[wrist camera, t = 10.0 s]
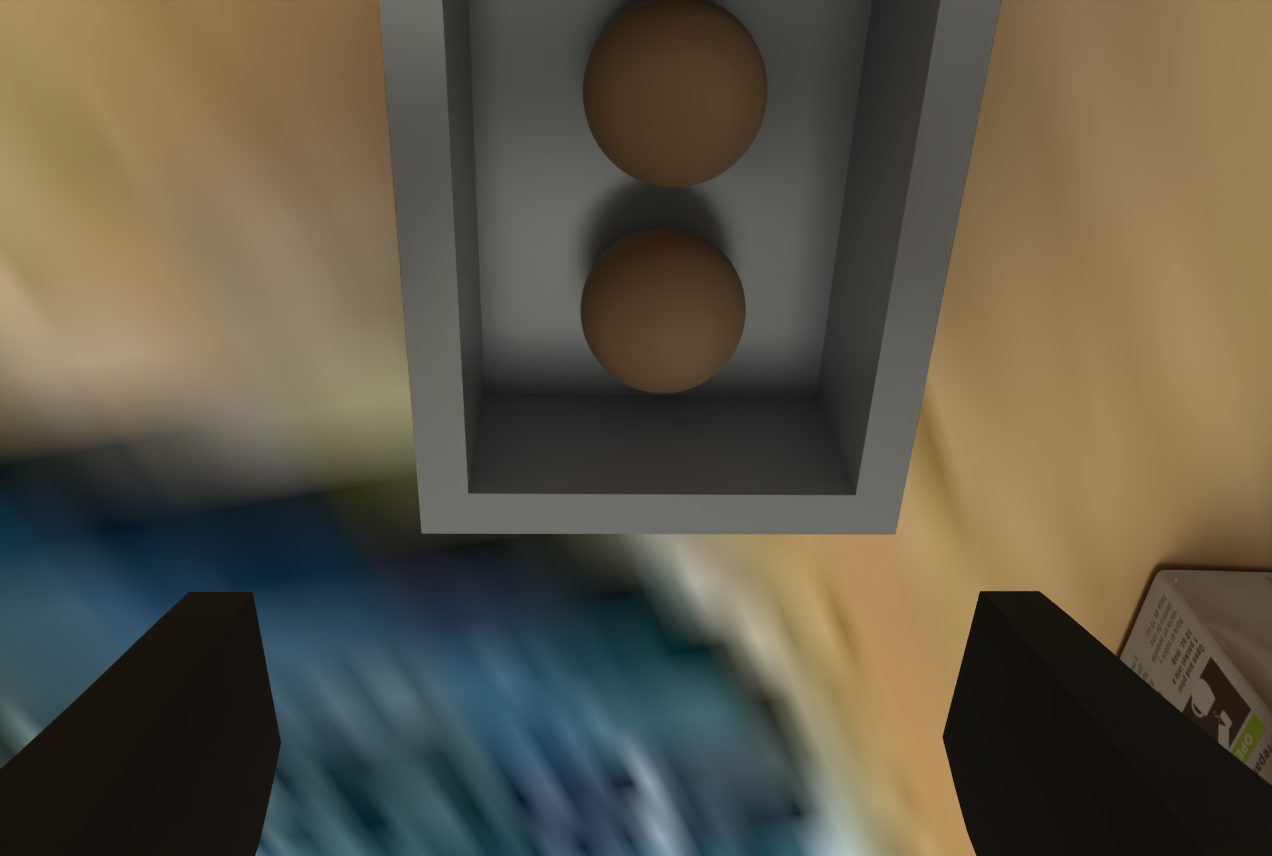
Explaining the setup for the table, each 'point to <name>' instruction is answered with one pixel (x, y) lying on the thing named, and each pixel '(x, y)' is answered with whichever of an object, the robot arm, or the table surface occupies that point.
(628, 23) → the bead
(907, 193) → the tub
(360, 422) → the table surface
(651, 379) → the bead
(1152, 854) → the robot arm
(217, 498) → the table surface
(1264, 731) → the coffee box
